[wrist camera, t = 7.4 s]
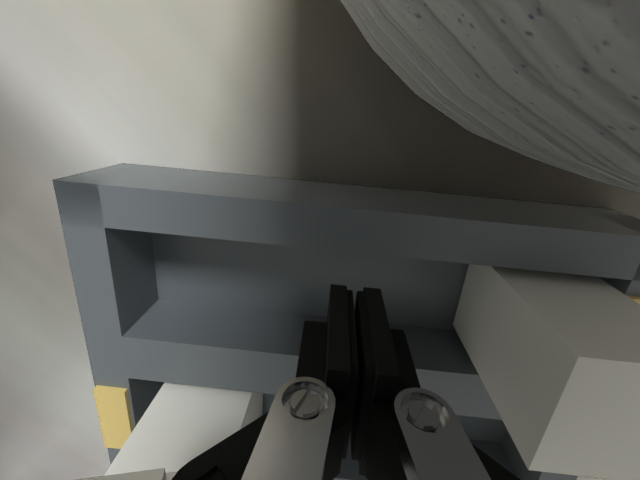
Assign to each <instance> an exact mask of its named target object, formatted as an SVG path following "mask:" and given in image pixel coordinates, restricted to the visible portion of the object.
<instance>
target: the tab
mask: <svg viewBox="0 0 640 480" xmlns="http://www.w3.org/2000/svg"><path fill="white" fill-rule="evenodd" d="M453 326H454V328H455V330H456V332H457V334H458V336H459V338H460V340H461V342H462V343H463V345H464V347H465V349H466V351H467V353H468V355H469V357H470V359H471V361H472V363H473V365H474V367H475V368H476V370H477V372H478V374H479V376H480V378H481V380H482V382H483V384H484V386H485V388H486V390H487V392H488V393H489V395H490V397H491V399H492V401H493V403H494V405H495V407H496V409H497V411H498V413H499V415H500V417H501V419H502V420H503V422H504V424H505V426H506V428H507V430H508V432H509V434H510V436H511V438H512V440H513V442H514V444H515V445H516V447H517V449H518V451H519V453H520V455H521V457H522V459H523V461H524V463H525V465H526V467H527V469H528V470H532V471H541V472H549V473H558V474H567V475H575V476H584V477H593V478H601V479H610V480H640V304H639V303H637V302H636V301H634V300H633V299H631V298H630V297H628V296H627V295H625V294H623V293H622V292H620V291H619V290H617V289H616V288H614V287H613V286H611V285H610V284H608V283H606V282H605V281H603V280H602V279H600V278H599V277H595V276H585V275H575V274H565V273H555V272H545V271H535V270H524V269H514V268H504V267H494V266H484V265H474V264H469V266H468V269H467V273H466V277H465V281H464V284H463V288H462V292H461V296H460V299H459V303H458V307H457V311H456V314H455V318H454V322H453Z"/></svg>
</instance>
